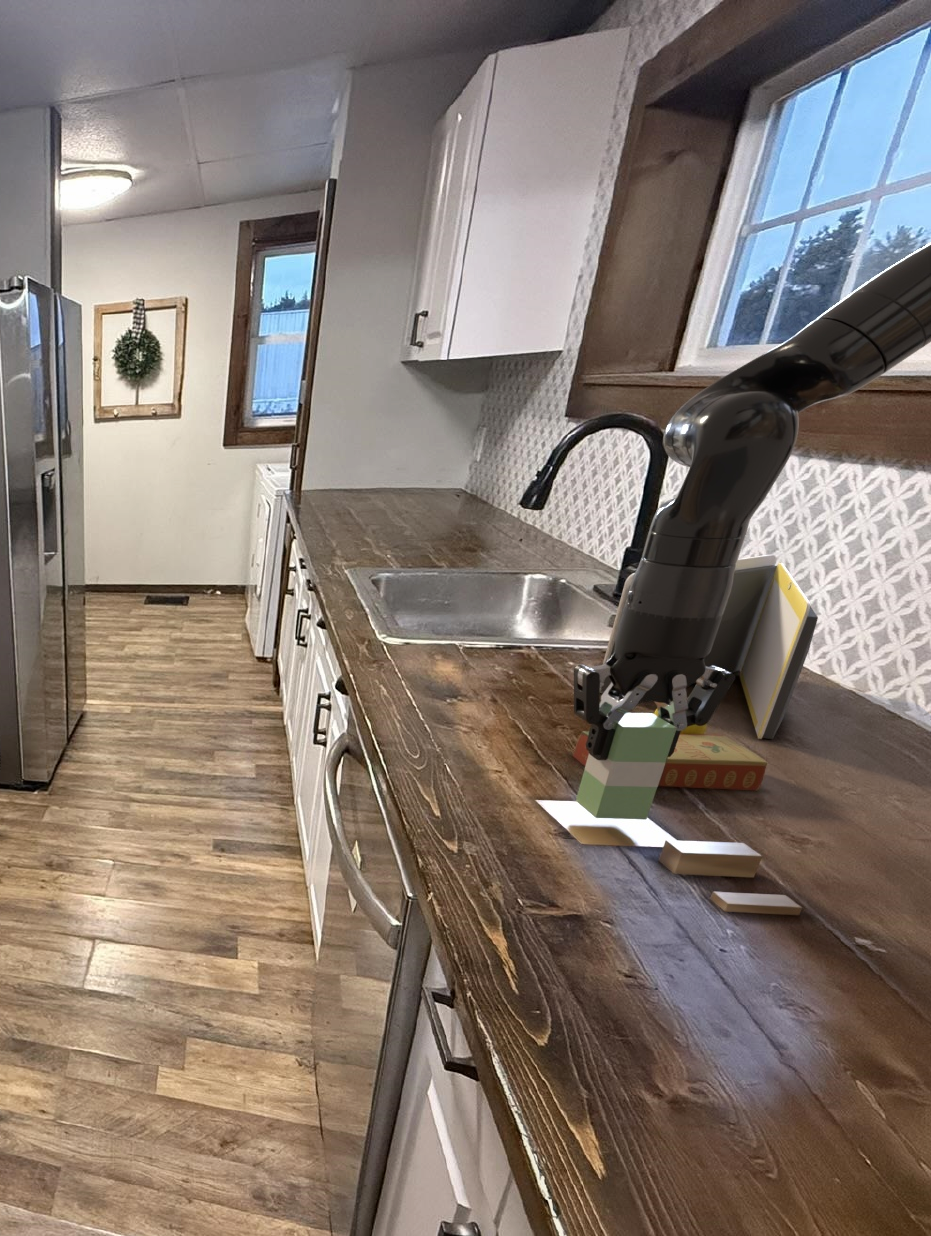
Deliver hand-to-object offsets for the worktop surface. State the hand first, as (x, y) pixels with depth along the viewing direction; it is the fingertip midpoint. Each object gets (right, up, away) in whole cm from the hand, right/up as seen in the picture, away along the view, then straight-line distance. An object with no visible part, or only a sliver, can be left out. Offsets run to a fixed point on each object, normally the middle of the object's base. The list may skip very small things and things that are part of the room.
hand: (626, 757), depth 84 cm
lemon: (+22, 0, +19) cm, 29 cm away
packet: (0, -1, 0) cm, 1 cm away
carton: (+16, -3, +14) cm, 21 cm away
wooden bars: (+3, -13, -8) cm, 15 cm away
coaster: (0, -8, +3) cm, 8 cm away
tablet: (+40, +8, +37) cm, 56 cm away
